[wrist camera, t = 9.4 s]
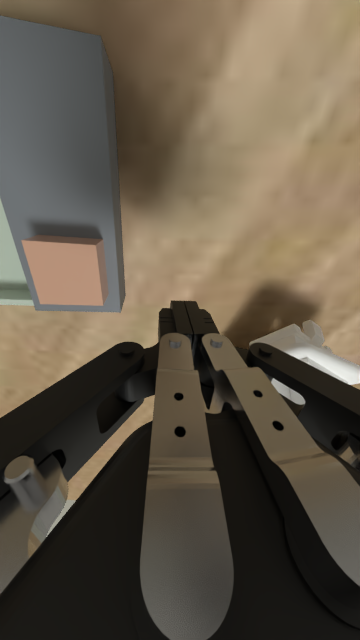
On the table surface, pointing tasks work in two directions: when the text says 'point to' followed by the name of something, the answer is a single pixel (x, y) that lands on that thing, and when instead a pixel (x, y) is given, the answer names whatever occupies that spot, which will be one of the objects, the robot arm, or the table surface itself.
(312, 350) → the tape dispenser
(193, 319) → the robot arm
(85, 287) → the tile
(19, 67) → the grey flat block
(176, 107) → the table surface
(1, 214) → the tray
